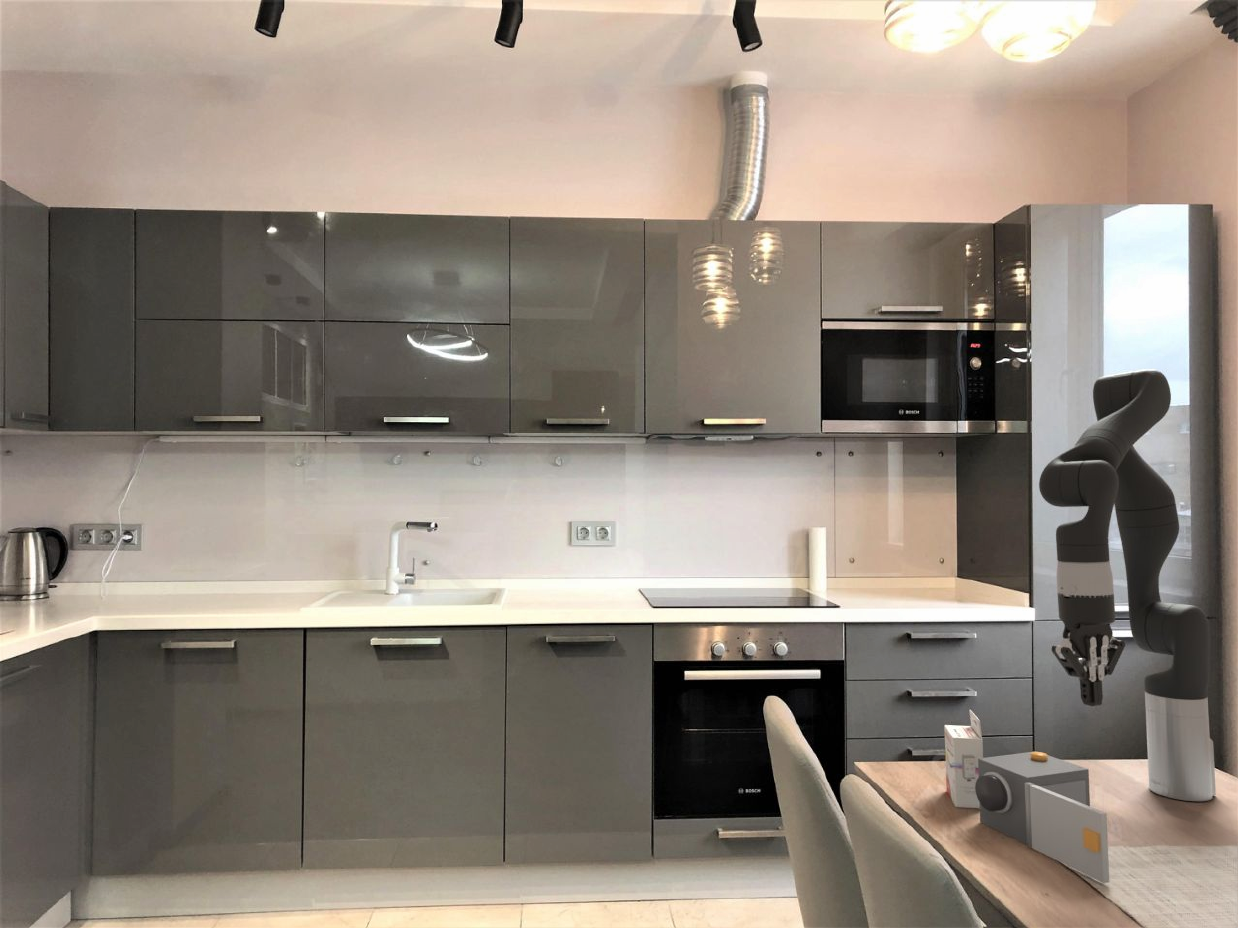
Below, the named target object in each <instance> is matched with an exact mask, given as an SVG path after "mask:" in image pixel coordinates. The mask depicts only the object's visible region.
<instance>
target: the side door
mask: <svg viewBox="0 0 1238 928" xmlns="http://www.w3.org/2000/svg"><path fill="white" fill-rule="evenodd" d="M1025 803H1026V831H1027V845H1026V846H1027V847H1029V848H1031V849H1033V850H1035V851H1037V852H1039V853H1041V854H1043V855H1045V856H1047V857H1049V858H1051V859H1054V860H1056V861H1058V862H1059V863H1062V864H1063V865H1066V866H1068V867H1070V868H1072V869H1074V870H1076V871H1078V872H1080V873H1082V874H1084V875H1085V876H1088V877H1090V878H1092V879H1094V880H1095V881H1098V882H1100V883H1102V884H1109V883H1110V868H1109V867H1110V864H1109V863H1110V861H1109V860H1110V859H1109V841H1108V840H1109V839H1108V817H1107V816H1108V815H1107V812H1104V811H1102V810H1099V809H1097V808H1095V807H1093V806H1091V805H1090V806H1087V805H1085V804H1082V803H1080V802H1077V801H1075V800H1072V799H1070V798H1067V797H1065V796H1062V795H1060V794H1057V793H1055V792H1052V791H1050V790H1047V789H1045V788H1042V787H1040V786H1037V785H1034V784H1033V783H1028V782H1027V783H1025Z"/></svg>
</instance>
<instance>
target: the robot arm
mask: <svg viewBox="0 0 1238 928" xmlns="http://www.w3.org/2000/svg"><path fill="white" fill-rule="evenodd" d="M1092 398H1093V399H1092V401H1093V407H1094V411H1095V417H1096V420H1097V421H1096V422H1095V423H1093V424H1092V425H1091V426H1089V427H1088V428H1087V429H1086V430H1085V431H1084V432H1083V433H1082V435H1081V436H1080V437H1079V439H1078V440H1077V441H1076V443H1075V444H1074V446H1073V447H1071V448H1069V449H1067V450H1065V451H1064V452H1062V453H1061V454H1059V455H1058V456H1057V457H1055V458H1054V459H1052V460H1051V461H1050V462H1048V463H1047V465H1045V467H1044V468H1043V470H1042V472H1041V474H1040V477H1039V481H1038V486H1039V487H1038V488H1039V492H1040V495H1041V496H1042V499H1043V500H1044V501H1045V502H1046V503H1048V504H1049V505H1050V506H1054V507H1060V508H1069V507H1070V508H1072V507H1073V508H1075V507H1078V508H1079V507H1088V509H1087V512H1086V513H1085V515H1084V516H1083V518H1082V519H1080V520H1079V519H1078V520H1075V521H1071V522H1070V521H1069V522H1066V523H1062V524H1060V525H1058V526H1057V528H1056V529H1055V541H1056V542H1055V543H1056V556H1057V557H1056V560H1057V563H1056V564H1057V565H1056V591H1057V607H1058V618H1059V620H1060V621H1062V623H1063V624H1064V626H1063V627H1064V629H1063V631H1062V638H1063V639H1062V641H1061V642H1060V643H1059V644H1058V645H1057V644H1054V645H1052V646H1051V652H1052V654H1053V655H1054V656H1055V658H1056V659H1057V661H1058V662H1059V664H1060V665H1061V666H1062V668H1063V669H1064V671H1065V672H1066V673H1067V675H1068V676H1070V677H1074V678H1076V679H1079V685H1080V687H1079V688H1080V698H1081V701H1082V703H1083V704H1084V705H1087V706H1089V707H1097V706H1101V705H1103V699H1104V698H1103V697H1104V695H1103V680H1104V679H1105V677H1106V676H1111V675H1113V673H1114V671H1115V668H1116V666H1117V664H1118V662H1119V659H1121V656H1122V654H1123V651H1124V650H1125V647H1126V642H1125V640H1121V639H1117V638H1116V637H1114V636H1113V635H1114V634H1113V629H1112V627H1111V624H1113V623H1115V621H1116V609H1115V608H1116V607H1115V606H1116V605H1115V593H1114V578H1113V570H1112V567H1111V560H1110V547H1109V533H1110V526H1111V525H1110V524H1111V519H1112V514H1113V510H1114V509H1115V510H1114V511H1115V516H1116V521H1117V522H1116V523H1117V529H1118V532H1119V536H1120V542H1121V548H1122V553H1123V559H1124V560H1123V561H1124V568H1125V575H1126V586H1127V587H1126V588H1127V602H1128V619H1129V620H1128V621H1129V626H1130V631H1131V635H1132V638H1133V640H1134V644H1136V645H1137V647H1138V648H1140V649H1141V650H1142V651H1145V652H1148V653H1149V652H1150V653H1154V654H1161V655H1168V656H1172V657H1173V658H1172V665H1171V667H1170V668H1169V669H1167V670H1164V671H1159V672H1152V673H1149V674H1147V675H1145V677H1144V680H1143V681H1144V682H1143V683H1144V702H1145V703H1144V705H1145V724H1146V745H1147V768H1148V771H1147V772H1148V788H1149V790H1150V791H1152V792H1153V793H1155V794H1157V795H1159V796H1162V797H1165V798H1170V799H1174V800H1181V801H1186V802H1187V801H1188V802H1208V801H1210V800H1212V799H1213V796H1216V793H1217V790H1216V772H1215V770H1216V769H1215V751H1214V750H1215V749H1214V741H1213V740H1212V739H1211V737H1210V720H1209V719H1210V718H1209V717H1210V716H1209V703H1208V701H1209V698H1208V697H1209V696H1208V687H1209V683H1210V676H1211V675H1210V674H1211V673H1210V672H1211V669H1210V668H1211V667H1210V665H1211V664H1210V663H1211V662H1210V661H1211V660H1210V659H1211V657H1210V656H1211V655H1210V654H1211V653H1210V652H1211V651H1210V650H1211V631H1210V629H1211V628H1210V623H1209V619H1208V617H1207V615H1206V613H1205V612H1204V610H1203V609H1202V608H1200V607H1199V606H1197V605H1191V604H1184V603H1173V602H1163V601H1162V598H1161V594H1160V583H1159V582H1160V581H1159V580H1160V573H1161V570H1162V568H1163V566H1164V564H1165V561H1166V559H1167V558H1168V556H1169V555H1170V553H1171V551H1172V549H1173V547H1174V546H1175V543H1176V542H1177V539H1178V536H1179V533H1180V520H1179V515H1178V509H1177V503H1176V498H1175V494H1174V492H1173V490H1172V488H1171V487H1170V486H1169V484H1168V483H1167V482H1166V481H1165V480H1164V478H1162V476H1161V475H1160V474H1159V473H1158V472H1157V471H1156V470H1155V469H1154V468H1152V466H1150V465H1149V463H1147V462H1146V460H1145V459H1143V456H1141V455H1140V454H1139V451H1137V449H1136V448H1135V446H1134V445H1135V444H1136V442H1137V441H1139V440H1140V439H1141V438H1142V437H1143V436H1144V435H1145V434H1146V433H1148V432H1149V431H1150V430H1151V429H1152V428H1153V427H1154V426H1155V425H1157V424H1158V423H1160V421H1161V420H1162V419H1164V417H1165V416H1166V415H1167V413H1168V412H1169V409H1170V406H1171V400H1172V393H1171V388H1170V384H1169V382H1168V379H1167V377H1166V376H1165V374H1164V373H1163V372H1162V371H1160V370H1157V369H1152V368H1151V369H1149V368H1148V369H1139V370H1133V371H1126V372H1121V373H1116V374H1110V375H1109V374H1108V375H1104V376H1100V377H1098V378H1097V379H1096V380H1095V382H1094V384H1093V389H1092Z"/></svg>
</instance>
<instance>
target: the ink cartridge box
mask: <svg viewBox="0 0 1238 928" xmlns="http://www.w3.org/2000/svg"><path fill="white" fill-rule="evenodd" d="M968 712H969V716H970V717H969V719H970V725H956V724H955V725H951V724H944V726H943V729H944V745H945V746H944V751H945V780H946V781H945V782H946V783H945V784H946V791H947V793H948V796H949V798H950V799H951V801H952V803H953V804H954V806H955V808H962V809H964V808H965V809H980V802H979V800H978V798H977V795H976V791H975V784H976V781H977V779H978V778H979V772H978V759H979V758H984V748H983V747H984V746H983V736H982V727H981V726H982V725H981V720H980V719H979V717H978V716H977V715H975V713H974V712H973V711H972V710H971V709H969V711H968Z"/></svg>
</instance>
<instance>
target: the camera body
mask: <svg viewBox="0 0 1238 928" xmlns="http://www.w3.org/2000/svg"><path fill="white" fill-rule="evenodd" d="M978 772H979V778H978V779H977V781H976V784H975V791H976V795H977V798H978V800H979V802H980V808H979V822H980V823H981V824H984V825H985V826H986V827H987V826H988V827H989V828H991V829H994V830H996V831H998V832H1000V833H1002V834H1004V835H1006V836H1008V837H1010V838H1012V839H1014V840H1016V841H1019V842H1021V843H1022V844H1025V845H1026V846H1027V831H1026V803H1025V783H1027V782H1028V783H1033V784H1034V785H1037V786H1040V787H1042V788H1045V789H1047V790H1050V791H1052V792H1055V793H1057V794H1060V795H1062V796H1065V797H1067V798H1070V799H1072V800H1075V801H1077V802H1080V803H1082V804H1085V805H1087V806H1090V807H1091V799H1090V795H1091V794H1090V773H1089V772H1090V771H1089V768H1086V767H1083V766H1080V765H1078V764H1074V763H1072V762H1069V761H1065V760H1062V759H1060V758H1056V757H1054V756H1051V755H1049V754H1047V753H1045V752H1041V751H1040V752H1039V751H1036V750H1035V751H1028V752H1020V753H1013V754H1005V755H1004V754H1003V755H997V756H989V757H983V758H979V759H978Z"/></svg>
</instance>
